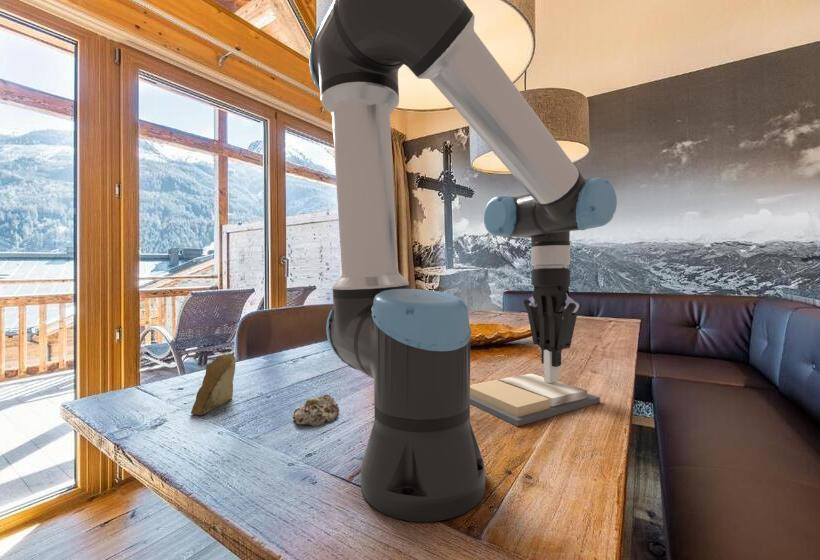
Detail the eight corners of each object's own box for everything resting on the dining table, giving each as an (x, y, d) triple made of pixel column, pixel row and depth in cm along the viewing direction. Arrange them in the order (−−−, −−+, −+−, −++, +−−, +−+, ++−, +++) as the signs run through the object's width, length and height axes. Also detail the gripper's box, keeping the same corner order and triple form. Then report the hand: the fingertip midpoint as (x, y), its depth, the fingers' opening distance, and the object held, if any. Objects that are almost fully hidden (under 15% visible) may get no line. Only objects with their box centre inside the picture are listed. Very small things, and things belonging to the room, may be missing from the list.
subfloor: (517, 426, 62) (517, 410, 62) (459, 398, 76) (458, 385, 76) (599, 402, 73) (599, 388, 73) (535, 381, 87) (535, 370, 86)
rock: (204, 408, 65) (253, 385, 74) (181, 367, 67) (232, 350, 76) (183, 432, 71) (231, 408, 79) (163, 394, 72) (212, 375, 81)
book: (551, 406, 67) (551, 398, 67) (497, 386, 80) (498, 379, 80) (587, 397, 72) (587, 390, 72) (531, 379, 84) (531, 373, 84)
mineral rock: (328, 417, 62) (286, 400, 63) (321, 441, 62) (280, 424, 64) (353, 397, 72) (316, 383, 74) (347, 419, 72) (310, 404, 74)
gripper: (590, 266, 73) (591, 386, 74) (538, 267, 84) (539, 371, 85) (565, 267, 69) (566, 392, 70) (514, 268, 81) (515, 376, 81)
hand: (551, 380), depth 77 cm, fingers closed
